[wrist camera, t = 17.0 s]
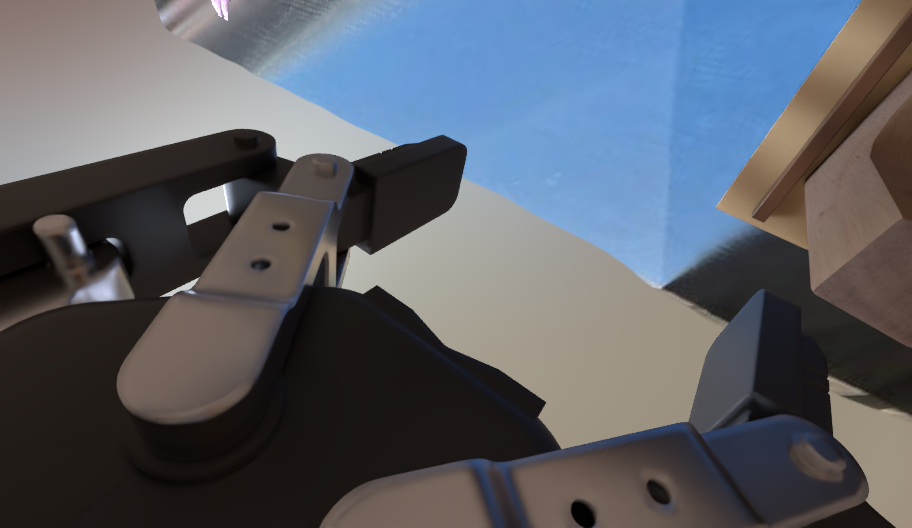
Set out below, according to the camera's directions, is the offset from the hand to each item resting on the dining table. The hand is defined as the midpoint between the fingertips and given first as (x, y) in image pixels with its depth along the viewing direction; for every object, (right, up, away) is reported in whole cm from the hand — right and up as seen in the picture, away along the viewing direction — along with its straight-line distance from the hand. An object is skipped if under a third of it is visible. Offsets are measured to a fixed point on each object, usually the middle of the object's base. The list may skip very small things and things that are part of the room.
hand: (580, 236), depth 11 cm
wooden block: (+26, +7, +17) cm, 32 cm away
